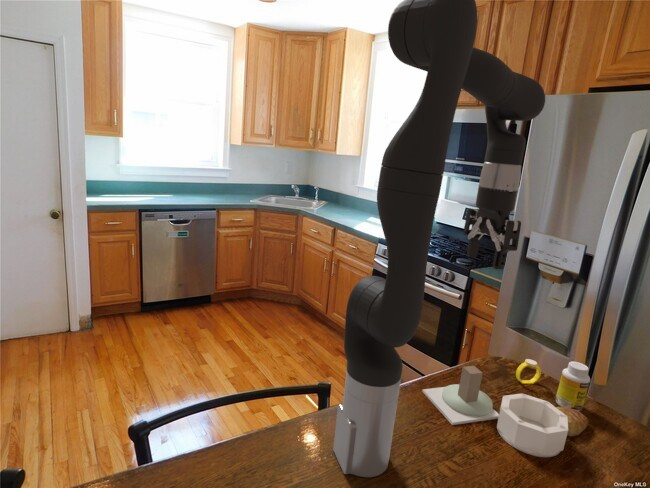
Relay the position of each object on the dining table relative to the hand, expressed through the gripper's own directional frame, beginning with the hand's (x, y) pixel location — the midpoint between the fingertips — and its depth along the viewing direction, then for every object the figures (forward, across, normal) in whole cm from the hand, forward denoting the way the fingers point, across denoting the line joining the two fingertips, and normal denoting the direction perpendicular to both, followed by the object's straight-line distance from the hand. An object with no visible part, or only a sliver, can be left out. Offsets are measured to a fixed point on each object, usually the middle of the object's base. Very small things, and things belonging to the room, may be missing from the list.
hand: (484, 262), depth 91 cm
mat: (+32, +3, -2) cm, 32 cm away
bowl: (+32, +15, +6) cm, 36 cm away
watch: (+32, -2, +21) cm, 39 cm away
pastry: (+33, +14, +17) cm, 39 cm away
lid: (+32, +3, 0) cm, 32 cm away
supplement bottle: (+32, +8, +24) cm, 41 cm away
